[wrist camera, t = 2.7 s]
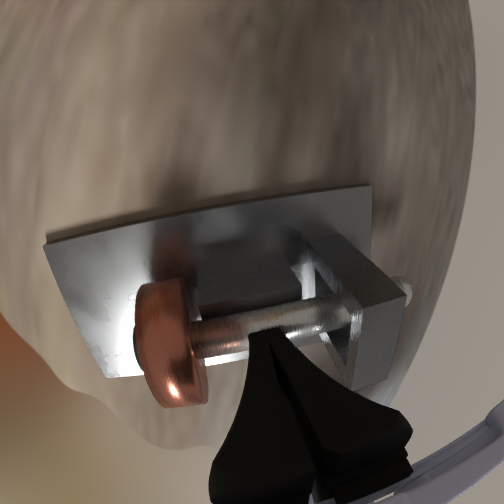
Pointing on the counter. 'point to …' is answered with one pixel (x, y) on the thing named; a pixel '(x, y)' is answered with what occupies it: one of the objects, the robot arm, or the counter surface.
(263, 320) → the hammer
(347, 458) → the robot arm
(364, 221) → the eye bracket
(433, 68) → the counter surface
